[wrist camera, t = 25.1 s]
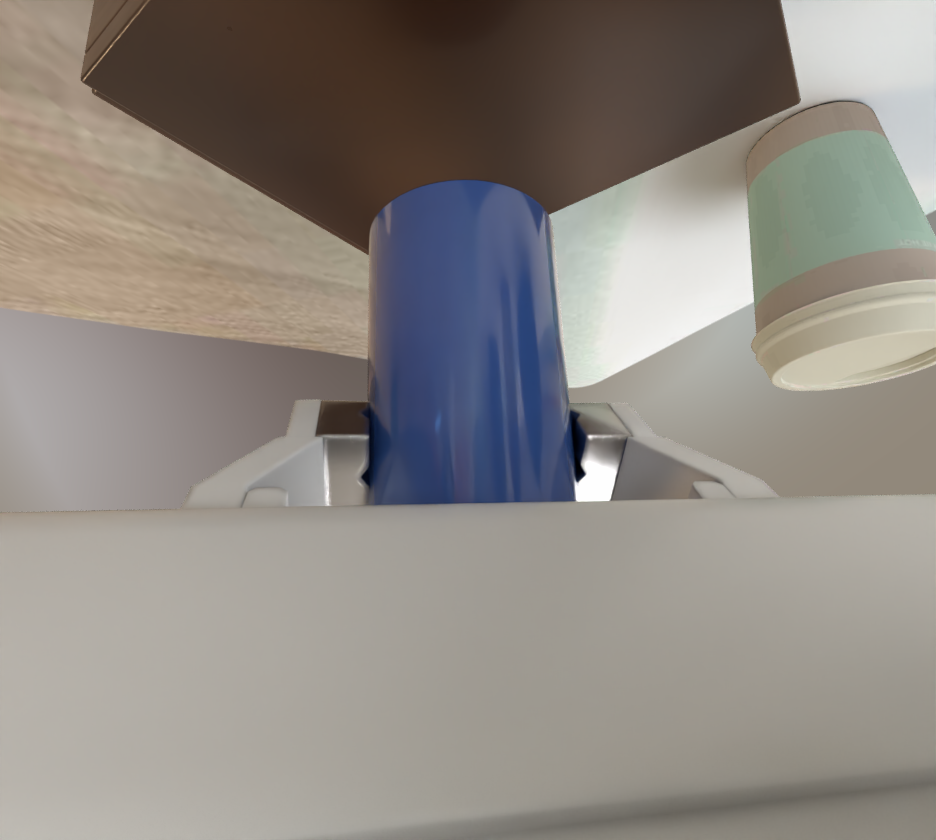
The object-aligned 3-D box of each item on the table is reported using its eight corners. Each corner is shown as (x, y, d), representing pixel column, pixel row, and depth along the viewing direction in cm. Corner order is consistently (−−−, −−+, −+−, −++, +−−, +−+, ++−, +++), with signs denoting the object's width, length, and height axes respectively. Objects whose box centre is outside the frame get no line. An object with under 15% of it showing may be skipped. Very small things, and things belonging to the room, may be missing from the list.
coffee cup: (733, 218, 35) (770, 405, 32) (701, 133, 28) (744, 361, 25) (906, 157, 30) (969, 368, 27) (918, 39, 23) (1006, 302, 20)
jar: (329, 232, 13) (318, 594, 11) (485, 145, 10) (511, 588, 8) (445, 300, 16) (455, 587, 14) (584, 247, 14) (620, 581, 11)
